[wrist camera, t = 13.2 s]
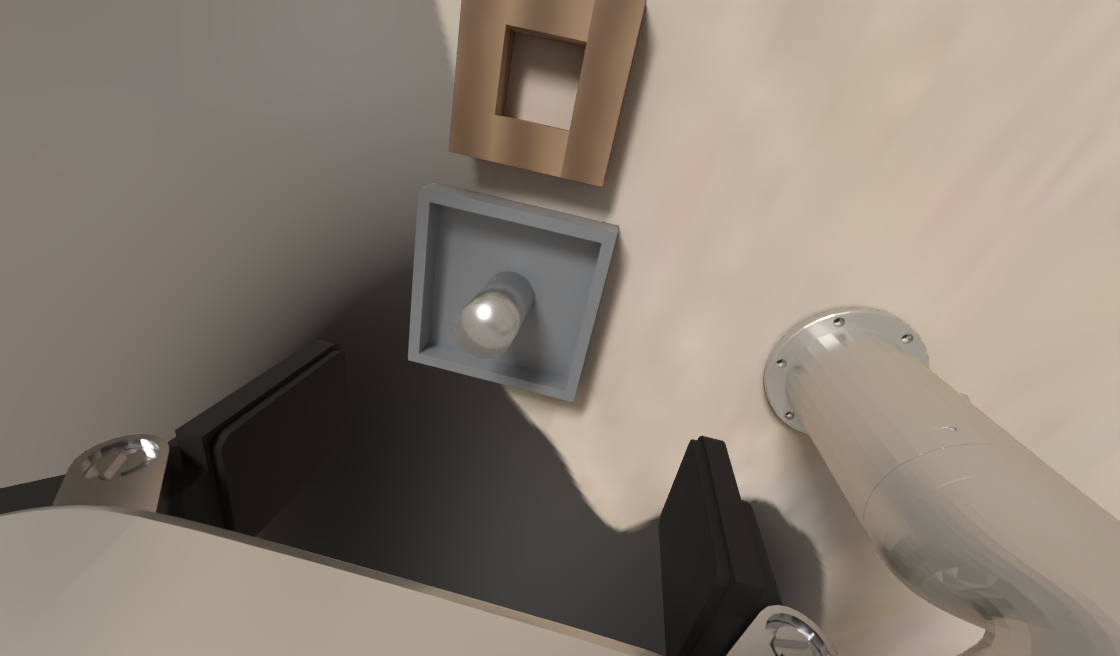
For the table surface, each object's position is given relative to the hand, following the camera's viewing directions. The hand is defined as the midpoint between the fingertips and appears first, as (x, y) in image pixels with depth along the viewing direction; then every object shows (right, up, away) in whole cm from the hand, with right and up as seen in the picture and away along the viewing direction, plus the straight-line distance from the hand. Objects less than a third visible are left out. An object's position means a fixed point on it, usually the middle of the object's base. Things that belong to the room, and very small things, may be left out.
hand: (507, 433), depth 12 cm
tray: (-3, +6, +29) cm, 30 cm away
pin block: (0, +21, +21) cm, 30 cm away
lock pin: (-3, +6, +28) cm, 29 cm away
